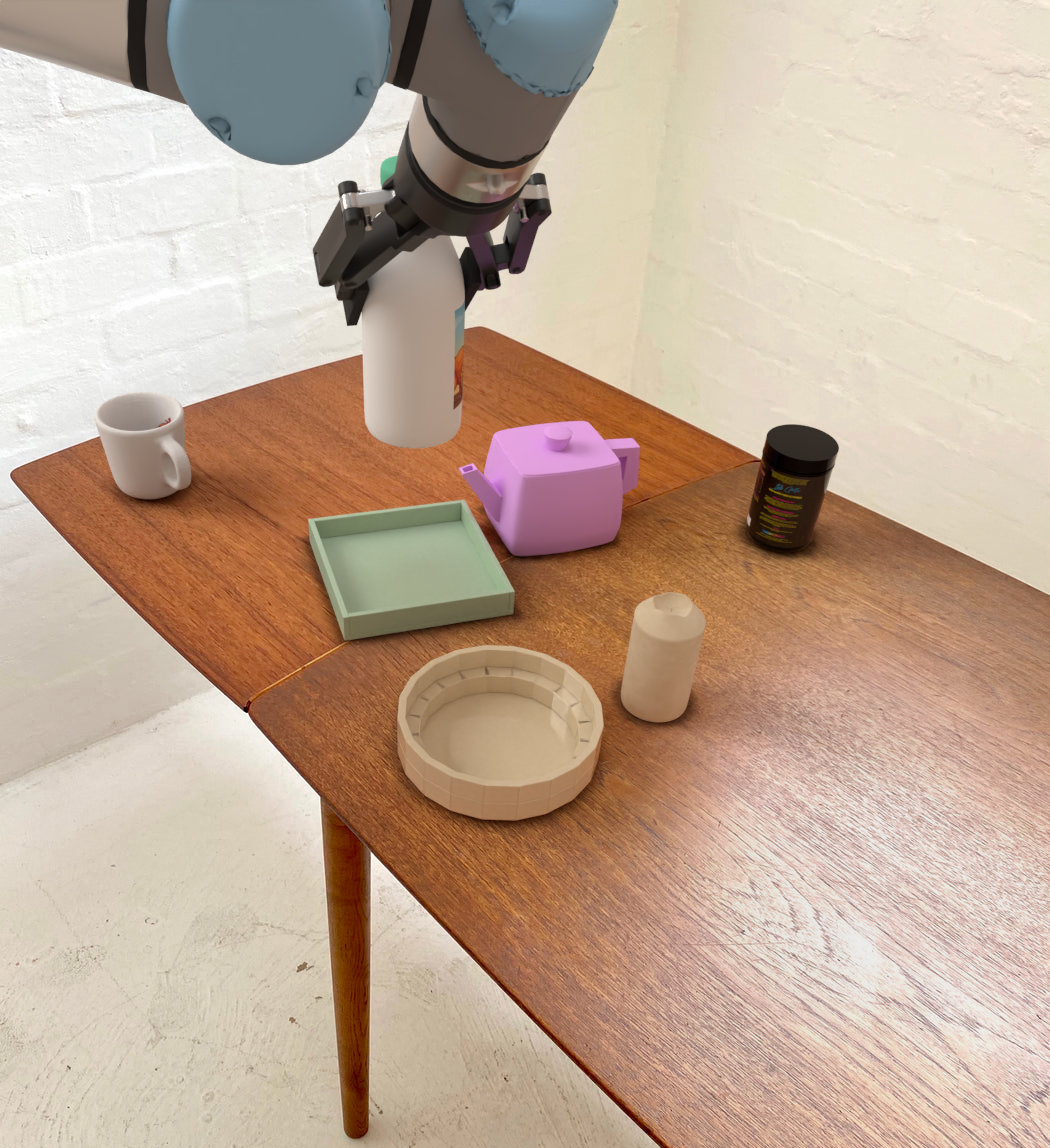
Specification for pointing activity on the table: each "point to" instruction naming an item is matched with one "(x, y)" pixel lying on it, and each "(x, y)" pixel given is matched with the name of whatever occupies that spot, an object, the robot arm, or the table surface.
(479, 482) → the teapot
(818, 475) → the supplement container
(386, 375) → the milk bottle
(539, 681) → the bowl
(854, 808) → the table surface
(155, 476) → the cup
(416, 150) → the robot arm
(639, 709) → the candle
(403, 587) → the tray
